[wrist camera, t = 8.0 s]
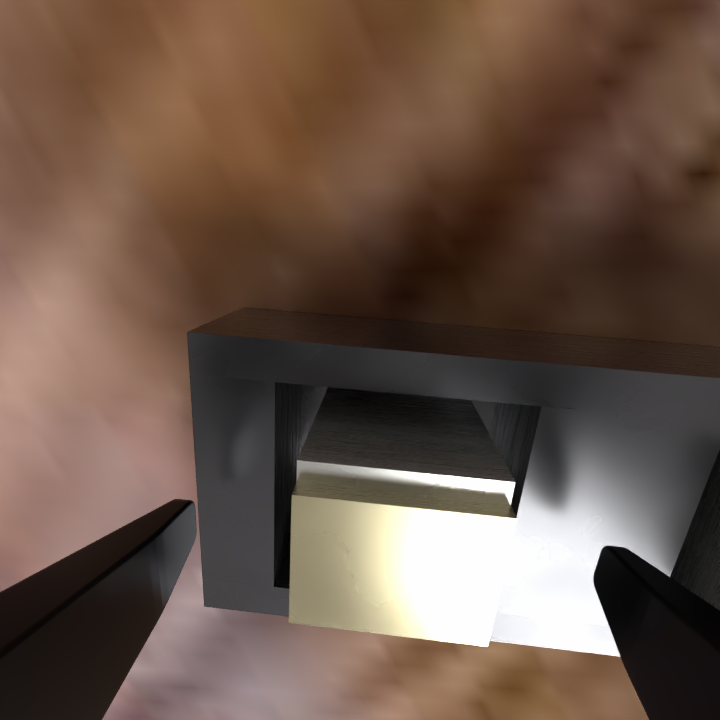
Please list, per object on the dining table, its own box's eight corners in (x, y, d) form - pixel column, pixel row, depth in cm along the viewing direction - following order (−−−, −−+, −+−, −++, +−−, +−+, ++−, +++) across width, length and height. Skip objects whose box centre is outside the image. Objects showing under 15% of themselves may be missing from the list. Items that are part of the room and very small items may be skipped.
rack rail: (927, 364, 11) (1163, 416, 8) (812, 583, 13) (954, 696, 10) (243, 307, 12) (187, 332, 9) (247, 521, 14) (204, 606, 11)
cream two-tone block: (467, 393, 12) (522, 495, 7) (448, 508, 13) (484, 664, 8) (330, 380, 12) (292, 471, 7) (324, 496, 13) (288, 640, 8)
